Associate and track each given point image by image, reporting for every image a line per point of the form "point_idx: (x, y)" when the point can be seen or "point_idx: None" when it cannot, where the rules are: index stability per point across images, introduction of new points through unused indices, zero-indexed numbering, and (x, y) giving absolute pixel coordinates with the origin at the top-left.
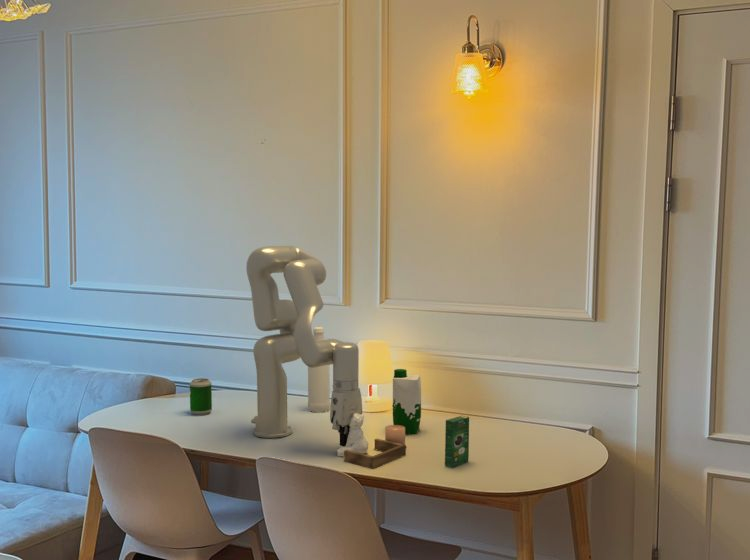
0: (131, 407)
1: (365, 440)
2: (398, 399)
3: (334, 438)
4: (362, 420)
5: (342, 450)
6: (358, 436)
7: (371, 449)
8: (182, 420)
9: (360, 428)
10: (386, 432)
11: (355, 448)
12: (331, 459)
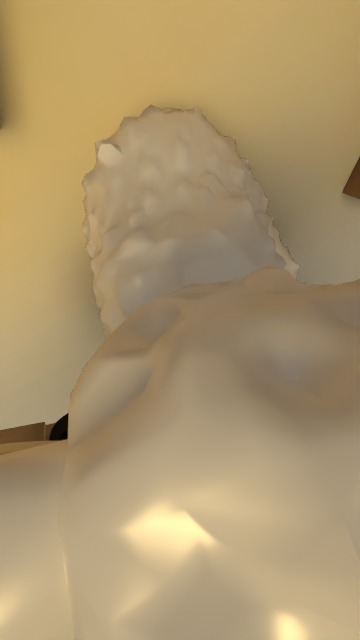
0: None
1: (148, 154)
2: None
3: (40, 418)
4: (263, 370)
5: (296, 274)
6: (259, 220)
7: (24, 157)
8: None
9: (160, 290)
10: None
11: (264, 197)
12: (336, 282)
